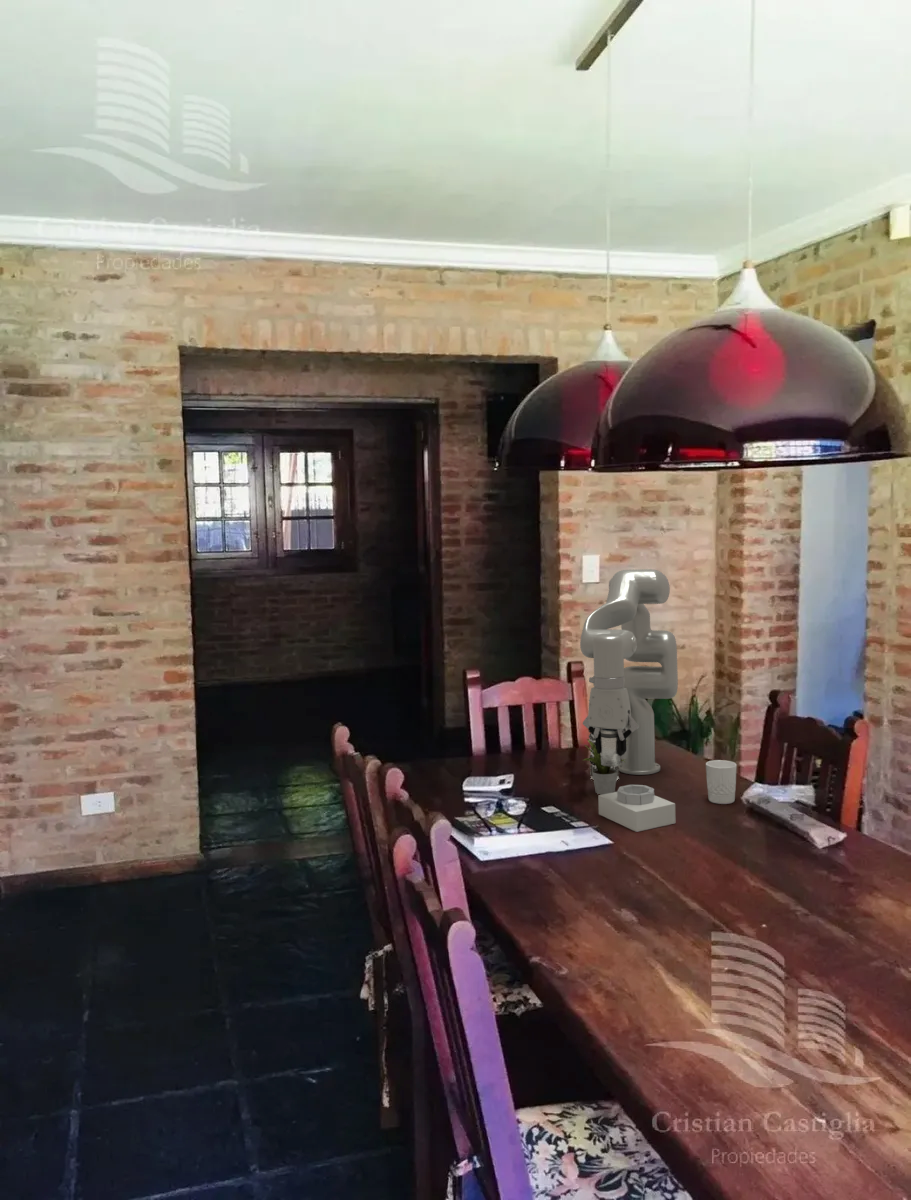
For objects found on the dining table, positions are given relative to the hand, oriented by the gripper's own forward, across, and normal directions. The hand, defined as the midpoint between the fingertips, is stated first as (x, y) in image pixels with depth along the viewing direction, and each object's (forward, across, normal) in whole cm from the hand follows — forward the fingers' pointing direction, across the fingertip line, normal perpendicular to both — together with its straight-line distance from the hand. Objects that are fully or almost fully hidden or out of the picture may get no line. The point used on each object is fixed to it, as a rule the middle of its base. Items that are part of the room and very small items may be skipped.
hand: (611, 752), depth 235 cm
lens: (+3, 0, 0) cm, 3 cm away
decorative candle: (+18, -15, +32) cm, 40 cm away
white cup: (+18, +21, +26) cm, 37 cm away
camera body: (+17, +6, +2) cm, 18 cm away
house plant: (+17, -9, +19) cm, 27 cm away
